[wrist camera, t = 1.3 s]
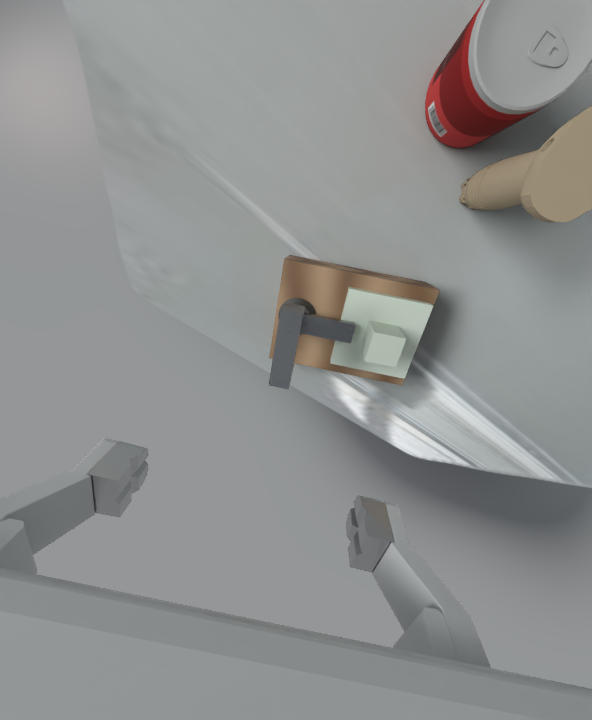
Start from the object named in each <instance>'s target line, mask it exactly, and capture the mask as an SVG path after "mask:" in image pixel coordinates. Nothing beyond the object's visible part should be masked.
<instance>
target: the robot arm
mask: <svg viewBox="0 0 592 720" xmlns="http://www.w3.org/2000/svg"><path fill="white" fill-rule="evenodd" d="M147 456H148V449H147V448H144V447H140V446H136V445H132V444H128V443H124V442H120V441H116V440H111V439H108V438H106V439H104V440H102V441H101V442H100V443H99V444H98V445H97V446H96V447H95V448H94V449H93V450H92V451H91V452H90V453H89V454H88V455H87V456H86V457H85V458H84V459H83V460H82V461H81V462H80V463H79V464H78V465H77V466H76V467H75V468H74V469H73V470H72V471H64V472H62V473H59V474H57V475H55V476H52V477H50V478H48V479H45V480H43V481H40V482H38V483H35V484H33V485H31V486H28V487H26V488H24V489H21V490H19V491H16V492H14V493H12V494H9V495H7V496H5V497H2V498H0V720H592V689H590V688H585V687H580V686H575V685H570V684H565V683H561V682H555V681H550V680H546V679H541V678H536V677H531V676H526V675H521V674H517V673H512V672H507V671H502V670H497V669H493V668H491V667H490V664H489V662H488V659H487V657H486V654H485V651H484V649H483V646H482V644H481V641H480V639H479V636H478V634H477V631H476V629H475V626H474V624H473V621H472V619H471V616H470V614H469V613H468V612H467V611H466V610H465V608H464V607H463V606H462V605H461V604H460V602H459V601H458V600H457V599H456V597H455V596H454V595H453V594H452V593H451V591H450V590H449V589H448V588H447V587H446V585H445V584H444V583H443V582H442V580H441V579H440V578H439V577H438V576H437V574H436V573H435V572H434V571H433V570H432V568H431V567H430V566H429V565H428V563H427V562H426V561H425V560H424V559H423V557H422V556H421V555H420V554H419V553H418V551H417V550H416V549H415V548H414V547H412V546H410V544H409V541H408V538H407V534H406V531H405V527H404V524H403V521H402V517H401V514H400V511H399V507H398V506H397V504H395V503H390V502H385V501H382V500H377V499H372V498H368V497H363V496H357V497H356V499H355V501H354V506H355V507H354V508H352V509H351V510H350V512H349V514H348V518H347V523H346V531H347V537H348V538H349V540H350V541H351V543H350V545H349V547H348V552H349V562H350V567H352V568H356V569H360V570H364V571H368V572H372V573H373V576H374V578H375V580H376V581H377V583H378V585H379V587H380V589H381V590H382V592H383V594H384V596H385V598H386V599H387V601H388V603H389V605H390V606H391V609H392V610H393V612H394V614H395V616H396V618H397V619H398V621H399V623H400V624H401V627H402V628H403V630H404V634H403V635H402V636H401V637H400V639H399V640H398V641H397V642H396V644H395V645H394V646H393V648H390V647H386V646H381V645H376V644H371V643H366V642H360V641H356V640H352V639H346V638H342V637H337V636H332V635H327V634H322V633H318V632H313V631H308V630H303V629H298V628H293V627H289V626H284V625H279V624H274V623H270V622H264V621H260V620H255V619H250V618H245V617H241V616H236V615H231V614H226V613H221V612H216V611H212V610H207V609H201V608H197V607H192V606H187V605H182V604H178V603H173V602H168V601H163V600H158V599H153V598H148V597H144V596H139V595H134V594H128V593H124V592H119V591H114V590H110V589H105V588H100V587H95V586H90V585H85V584H80V583H76V582H71V581H66V580H61V579H56V578H51V577H46V576H41V575H37V568H36V564H35V561H34V557H33V554H35V553H37V552H38V551H40V550H41V549H43V548H44V547H46V546H47V545H48V544H50V543H52V542H53V541H55V540H56V539H58V538H59V537H61V536H63V535H64V534H66V533H67V532H69V531H70V530H72V529H73V528H75V527H76V526H78V525H79V524H81V523H82V522H84V521H85V520H87V519H88V518H90V517H91V516H93V515H94V514H95V513H100V514H105V515H110V516H116V517H120V516H121V515H122V513H123V512H124V511H125V509H126V508H127V506H128V505H129V503H130V502H131V494H132V493H134V492H136V491H138V490H139V489H140V487H141V486H142V484H143V482H144V480H145V478H146V475H147V471H148V463H147V462H146V461H145V459H146V458H147Z"/></svg>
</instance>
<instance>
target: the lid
mask: <svg viewBox="0 0 592 720" xmlns="http://www.w3.org/2000/svg"><path fill="white" fill-rule="evenodd" d="M432 308H433V305H432V304H431V303H427V302H423V301H418V300H413V299H408V298H403V297H398V296H393V295H388V294H383V293H378V292H373V291H368V290H363V289H358V288H353V287H349V289H348V293H347V296H346V300H345V304H344V308H343V312H342V316H341V320H344V321H349V322H354V323H356V327H355V330H354V334H353V337H352V341H351V344H350V343H345V342H341V341H336V340H335V343H334V347H333V351H332V355H331V359H330V364H335V365H340V366H345V367H350V368H354V369H359V370H364V371H369V372H374V373H379V374H384V375H388V376H393V377H398V378H403V379H405V377H406V374H407V372H408V369H409V367H410V364H411V362H412V359H413V356H414V354H415V351H416V349H417V346H418V344H419V341H420V339H421V336H422V334H423V331H424V329H425V326H426V324H427V321H428V319H429V316H430V313H431V311H432Z"/></svg>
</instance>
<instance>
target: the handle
mask: <svg viewBox="0 0 592 720" xmlns="http://www.w3.org/2000/svg"><path fill="white" fill-rule="evenodd" d="M461 188H462V194H461V197H460V199H459V200H460V203H464V204H466V205H467V206H468V208H470V209H478V210H498V209H503V208H508V207H512V206H517V205H521V204H523V207H524V208H525V210H526V211H527V212H528V213H529V214H530V215H531V216H533V217H535V218H536V219H538V220H541V221H545V222H570V221H572V220H573V219H575V218H577V217H579V216H580V215H582V214H584V213H585V212H587V211H589V210H590V209H592V106H590V107H589V108H587V109H586V110H584V111H583V112H581V113H580V114H578V115H577V116H575V117H574V118H573V119H571V120H570V121H568V122H567V123H566V124H564V125H563V126H562V127H561V128H559V129H558V130H557V131H556V132H555V133H554V134H553V135H552V136H551V137H550V138H549V139H548V140H547V141H546V142H545V143H544V144H543V145H542V147H541V148H540V149H539V150H536V151H532V152H529V153H525V154H521V155H517V156H513V157H509V158H506V159H503V160H500V161H498V162H495V163H493V164H491V165H489V166H487V167H485V168H483V169H482V170H480V171H478V172H477V173H476V174H475V175H473V176H472V177H471V178H468V179H467V180H466V181H464V183H463V184H462V186H461Z"/></svg>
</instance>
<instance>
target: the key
mask: <svg viewBox="0 0 592 720" xmlns="http://www.w3.org/2000/svg"><path fill="white" fill-rule="evenodd" d="M355 327H356V323H354V322H349V321H344V320H340V319H335V318H330V317H325V316H320V315H315V314H310V312H309V310H308V309H307V307H305V306H304V305H302V304H298V303H296V304H291V303H287V302H285V303H284V305H283V306H282V308H281V311H280V317H279V323H278V330H277V336H276V342H275V349H274V355H273V361H272V368H271V374H270V380H269V385H270V386H275V387H280V388H284V389H289V385H290V381H291V377H292V372H293V367H294V362H295V357H296V352H297V347H298V342H299V336H300V333H301V334H306V335H311V336H316V337H321V338H326V339H331V340H336V341H341V342H345V343H350V344H351V341H352V337H353V334H354V330H355Z"/></svg>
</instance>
